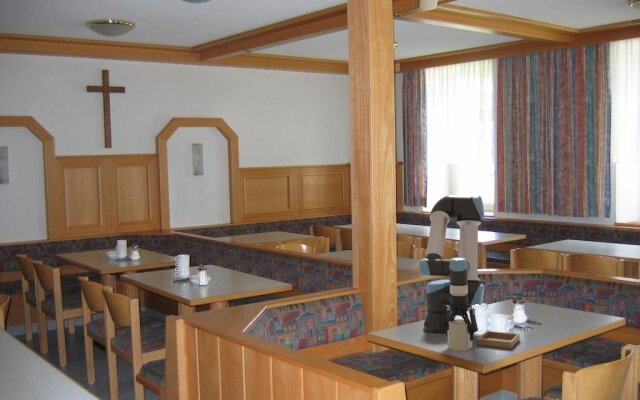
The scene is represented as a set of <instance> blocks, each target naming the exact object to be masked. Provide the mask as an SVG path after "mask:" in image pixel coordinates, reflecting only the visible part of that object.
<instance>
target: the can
mask: <svg viewBox="0 0 640 400" xmlns="http://www.w3.org/2000/svg"><path fill="white" fill-rule="evenodd" d="M467 333H469V331H468V328H467V324H465V322H464V319H463V318H462V319H460V318H459V319H458V318H457V319H456V318H455V319H454V321H449V345H448V349H450V350H452V351H453V352H454V351H455V352H466V351H470V350H471V348H472V347H471V348H468V335H467Z"/></svg>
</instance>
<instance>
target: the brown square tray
mask: <svg viewBox="0 0 640 400" xmlns="http://www.w3.org/2000/svg"><path fill="white" fill-rule="evenodd" d="M520 335H521V334H520V333H513V332H501V331H492V330H487V331H485V332H484V333H483V334H481V335H480V336H479V337H478V338H477V341H476V342H477V347H478V346H479V347H485V348H486V347H488V348H497V349H506V350H512V349H513V348H515V346H516V345H518V343H519V342H520V340H521V339H520Z"/></svg>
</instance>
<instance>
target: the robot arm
mask: <svg viewBox="0 0 640 400" xmlns="http://www.w3.org/2000/svg"><path fill="white" fill-rule="evenodd" d="M429 215H430V216H429V220H430V227H429V235H428V239H427V240H428V242H427V247H426V252H425V258H420V259H419V262H418V269H419V270H418V271H419V274H420V275H421V276H425V277H426V276H427V277H449V279H438V280H433V281H429V282H428V283H427V284H426V292H425V294H426V297H425V298H426V315H425V318H424V321H423V330H424V331H425V332H429V333H435V334H436V333H437V334H445V336H446V337H447V346H449V321H454V320H455V319H456V317H461V318H462V319H463V320H464V322H465V324H467V328H468V331H469V333H467V335H468V348H473V341H474V340H475V333H477V332H479V327H478V323H477V318H476V314H475V313H476V312H475V311H476V309H474V308H473V309H472V305H475V304H479V305H481V304H483V301H484V293H485V285H484V284H483V283H482V280H481V278H479V275H478V274H479V272H478V269H479V268H478V267H479V266H478V264H479V263H478V262H479V261H478V259H479V258H478V257H479V254H478V253H479V250H478V249H479V244H478V243H479V241H478V240H479V238H478V237H479V226H480V225H481V224H482V220H485V209H484V203H483V198H482V197H481V196H480V195H479V194H457V195H456V194H454V195H453V194H449V195H446V196H443V197H441V198H440V199H439V200H438V201H437V202H436V203H435V204H434V205H433V207H432V209H431V210H430V214H429ZM451 220H456V224H457V225H458V226H459V242H458V243H459V249H458V250H459V254H458V255H459V257H452V258H449V259H448V258H443V257H444V251H445V250H444V249H445V244H446V235H447V230H448V229H447V228H448V227H447V226H448V224H449V223H450V221H451ZM481 306H482V305H481Z"/></svg>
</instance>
